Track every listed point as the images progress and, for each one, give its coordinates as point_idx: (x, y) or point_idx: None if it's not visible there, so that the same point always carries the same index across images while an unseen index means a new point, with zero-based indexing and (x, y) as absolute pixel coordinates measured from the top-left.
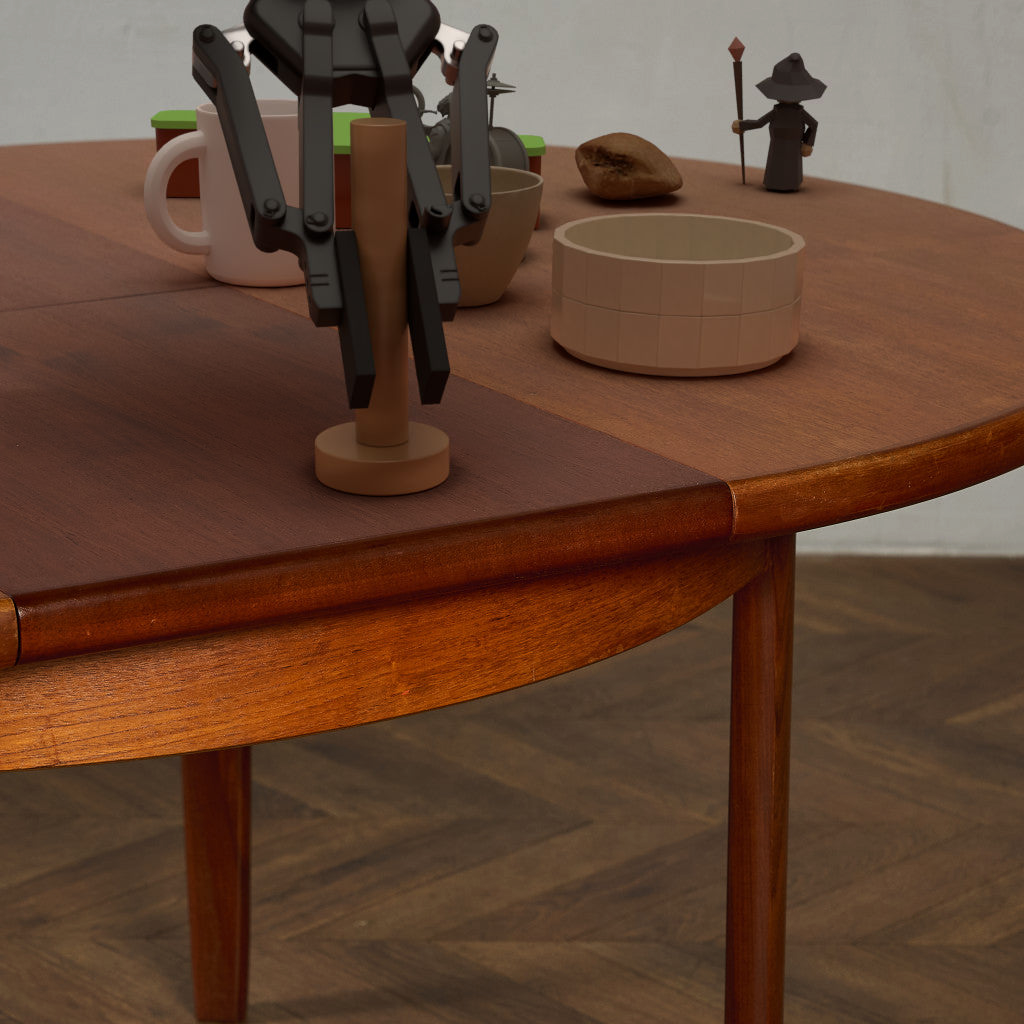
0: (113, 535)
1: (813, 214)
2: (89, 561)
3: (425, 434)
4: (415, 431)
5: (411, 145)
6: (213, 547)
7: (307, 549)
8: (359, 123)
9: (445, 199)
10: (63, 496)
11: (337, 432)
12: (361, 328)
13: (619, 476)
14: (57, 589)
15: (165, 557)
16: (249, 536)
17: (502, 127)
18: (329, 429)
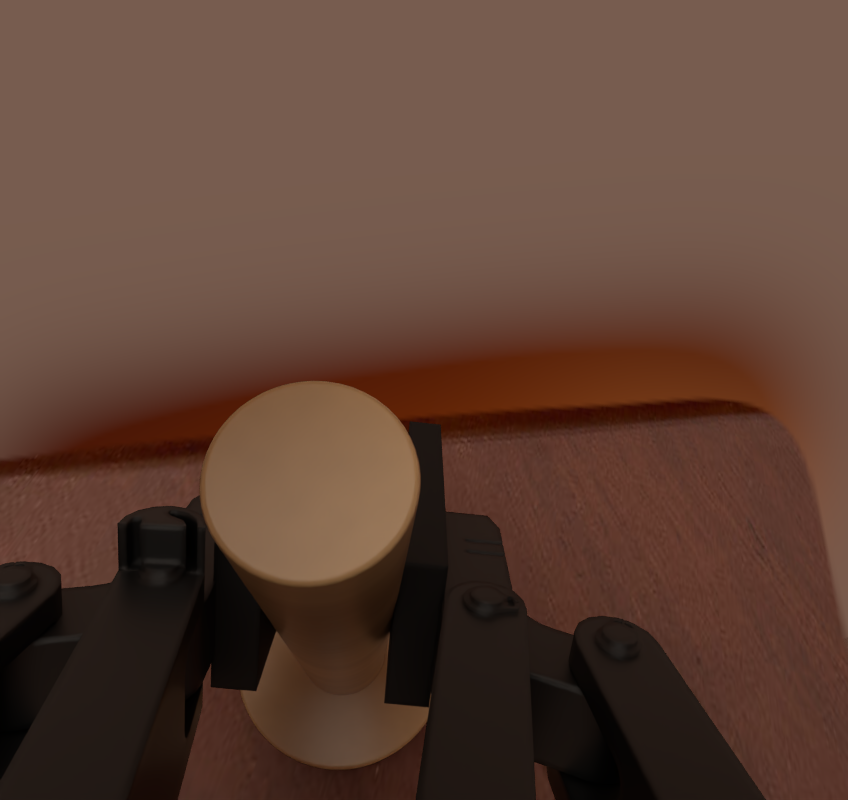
0: (711, 536)
1: None
2: (730, 469)
3: (271, 652)
4: (280, 674)
5: (90, 763)
6: (599, 467)
7: (500, 431)
8: (400, 431)
9: (106, 595)
10: (790, 700)
11: (402, 708)
12: (421, 454)
13: (28, 543)
14: (753, 411)
15: (651, 456)
16: (557, 486)
17: None
18: (410, 731)
